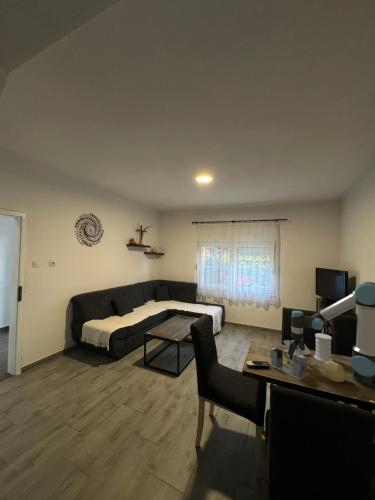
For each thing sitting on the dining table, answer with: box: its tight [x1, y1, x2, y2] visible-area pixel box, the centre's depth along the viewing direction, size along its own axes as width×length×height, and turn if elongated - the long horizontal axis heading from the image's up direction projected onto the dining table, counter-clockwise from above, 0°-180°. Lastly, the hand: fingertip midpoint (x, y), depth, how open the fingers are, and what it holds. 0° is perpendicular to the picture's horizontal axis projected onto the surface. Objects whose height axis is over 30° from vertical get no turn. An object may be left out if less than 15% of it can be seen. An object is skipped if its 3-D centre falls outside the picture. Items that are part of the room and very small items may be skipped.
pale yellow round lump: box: [322, 360, 347, 383], centre depth 137 cm, size 12×12×11 cm
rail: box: [283, 349, 311, 368], centre depth 154 cm, size 17×4×4 cm, turn 35°
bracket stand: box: [269, 347, 308, 381], centre depth 146 cm, size 22×9×11 cm, turn 35°
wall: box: [283, 339, 312, 356], centre depth 175 cm, size 16×9×15 cm
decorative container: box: [314, 332, 333, 363], centre depth 163 cm, size 12×12×18 cm
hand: (296, 361), depth 154 cm, fingers open, 13 cm apart
